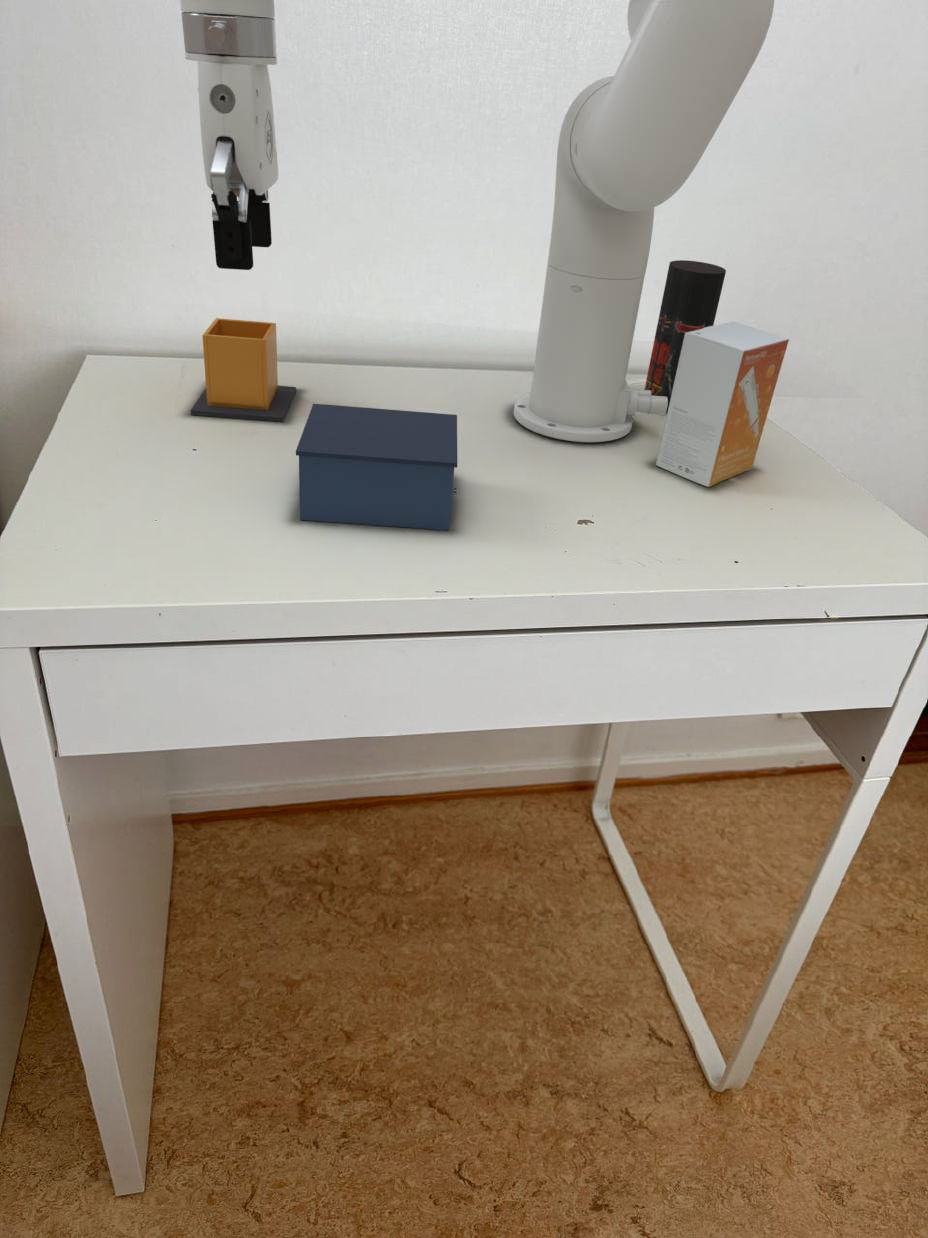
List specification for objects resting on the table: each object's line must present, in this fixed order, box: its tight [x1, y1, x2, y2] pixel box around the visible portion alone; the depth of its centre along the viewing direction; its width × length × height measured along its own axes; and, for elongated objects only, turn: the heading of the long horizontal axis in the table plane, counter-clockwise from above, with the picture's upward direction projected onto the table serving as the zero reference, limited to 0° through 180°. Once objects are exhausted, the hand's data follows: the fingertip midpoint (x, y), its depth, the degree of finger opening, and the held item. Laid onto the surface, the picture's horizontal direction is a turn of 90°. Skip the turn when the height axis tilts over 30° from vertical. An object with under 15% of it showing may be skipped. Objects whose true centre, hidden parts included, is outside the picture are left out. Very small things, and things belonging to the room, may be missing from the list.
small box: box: [655, 321, 790, 488], centre depth 86 cm, size 8×6×13 cm
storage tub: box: [295, 403, 458, 531], centre depth 76 cm, size 12×10×6 cm
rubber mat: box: [190, 385, 297, 423], centre depth 93 cm, size 9×9×1 cm
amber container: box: [201, 317, 279, 410], centre depth 91 cm, size 6×6×7 cm
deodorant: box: [643, 259, 727, 413], centre depth 100 cm, size 6×6×15 cm
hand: (245, 256), depth 86 cm, fingers open, 9 cm apart
